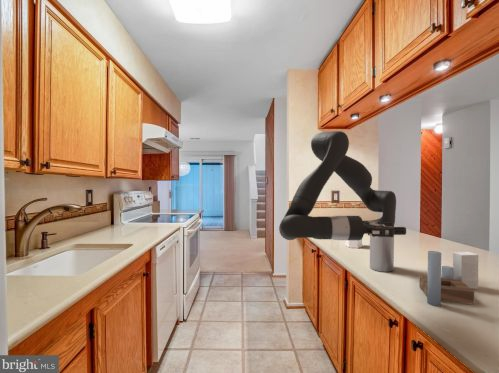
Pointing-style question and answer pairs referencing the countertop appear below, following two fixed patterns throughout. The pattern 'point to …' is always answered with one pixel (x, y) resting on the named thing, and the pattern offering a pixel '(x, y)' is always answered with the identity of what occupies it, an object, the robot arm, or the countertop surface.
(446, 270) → the short pin
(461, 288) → the socket block
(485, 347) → the countertop surface
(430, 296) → the long pin
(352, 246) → the jar
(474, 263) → the skincare box
